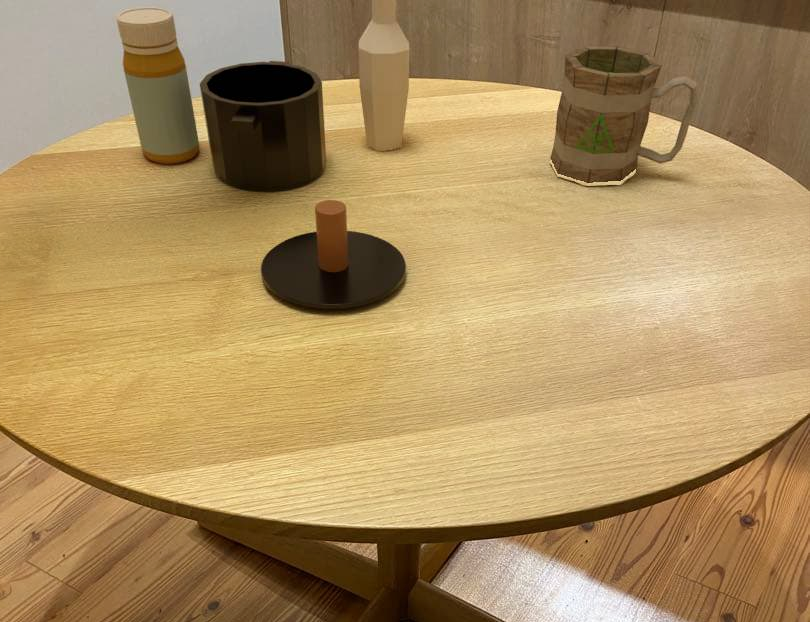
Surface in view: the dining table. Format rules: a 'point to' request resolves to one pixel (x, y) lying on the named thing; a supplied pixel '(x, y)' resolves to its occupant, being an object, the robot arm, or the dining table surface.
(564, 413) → the dining table surface
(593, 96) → the mug
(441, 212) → the dining table surface
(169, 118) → the bottle
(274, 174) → the pot
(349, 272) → the lid
